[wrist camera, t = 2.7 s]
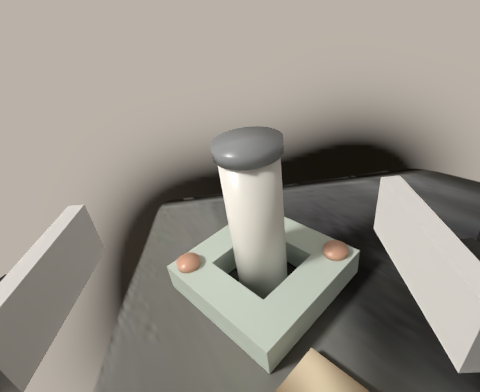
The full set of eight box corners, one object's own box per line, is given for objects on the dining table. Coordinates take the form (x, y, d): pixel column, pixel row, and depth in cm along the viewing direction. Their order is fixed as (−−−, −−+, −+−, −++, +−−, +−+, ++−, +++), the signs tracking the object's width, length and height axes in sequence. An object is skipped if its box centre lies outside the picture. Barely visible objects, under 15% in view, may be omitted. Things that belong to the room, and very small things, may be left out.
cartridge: (261, 252, 36) (246, 122, 27) (301, 276, 32) (298, 133, 24) (225, 282, 33) (195, 145, 24) (265, 312, 29) (246, 162, 21)
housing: (259, 222, 41) (257, 200, 39) (357, 271, 32) (360, 246, 30) (173, 286, 33) (165, 262, 31) (269, 374, 24) (266, 348, 22)
